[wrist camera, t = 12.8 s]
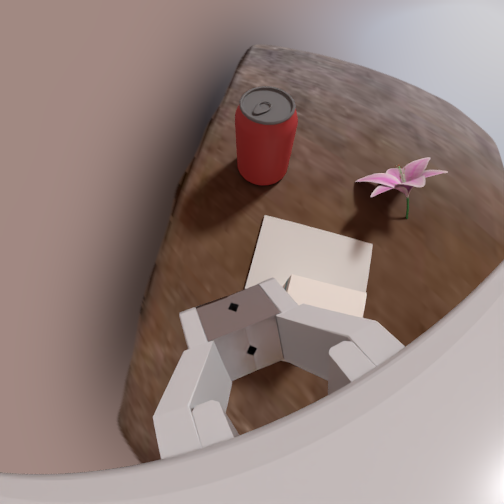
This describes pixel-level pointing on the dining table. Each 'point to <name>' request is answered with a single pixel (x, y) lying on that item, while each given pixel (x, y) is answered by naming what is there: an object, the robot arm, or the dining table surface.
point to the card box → (325, 295)
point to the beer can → (265, 134)
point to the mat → (308, 256)
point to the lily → (402, 178)
